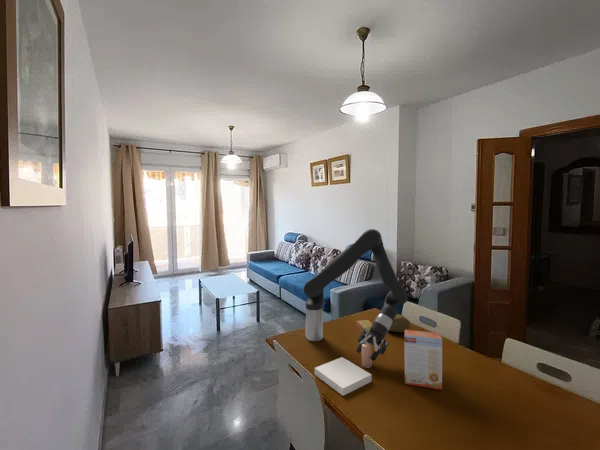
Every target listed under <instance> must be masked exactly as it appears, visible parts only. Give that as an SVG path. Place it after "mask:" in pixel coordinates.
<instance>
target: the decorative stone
mask: <svg viewBox="0 0 600 450" xmlns="http://www.w3.org/2000/svg"><path fill="white" fill-rule="evenodd" d="M411 326H412V325H411V321H410V320H409V319H408V318H406V316H404V315H402V314H399V313H397V314H396V316H395V318H394V320H393V322H392V325H391V327H390V329H389V331H390V332H394V333H405V330H410V328H411Z"/></svg>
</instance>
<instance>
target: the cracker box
mask: <svg viewBox="0 0 600 450" xmlns="http://www.w3.org/2000/svg"><path fill="white" fill-rule="evenodd" d="M404 384H405V385H409V386H416V387H421V388H429V389H435V390H443V338H442V335H441V333H440V332H432V331H431V332H430V331H422V330H411V329H409V330H405V332H404Z"/></svg>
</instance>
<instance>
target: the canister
mask: <svg viewBox="0 0 600 450" xmlns="http://www.w3.org/2000/svg"><path fill="white" fill-rule="evenodd" d="M372 354H373V345H371V344H363V345H362V351H361V366H362V367H363V368H364V369H370V368H372V366H373V361H372V360H371V359H370V358H371V356H372Z"/></svg>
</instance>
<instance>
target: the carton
mask: <svg viewBox="0 0 600 450" xmlns="http://www.w3.org/2000/svg"><path fill="white" fill-rule="evenodd" d="M372 324H373V323H372V322H371V321H370V320H368V319H365V320H363V319H362V320H356V321H355V328H356V329H357V330H358V331H359V332H360V333H362V332H363V331H364V330H365V331H366V332H367V333H369V332H370V328H371V326H372Z"/></svg>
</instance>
